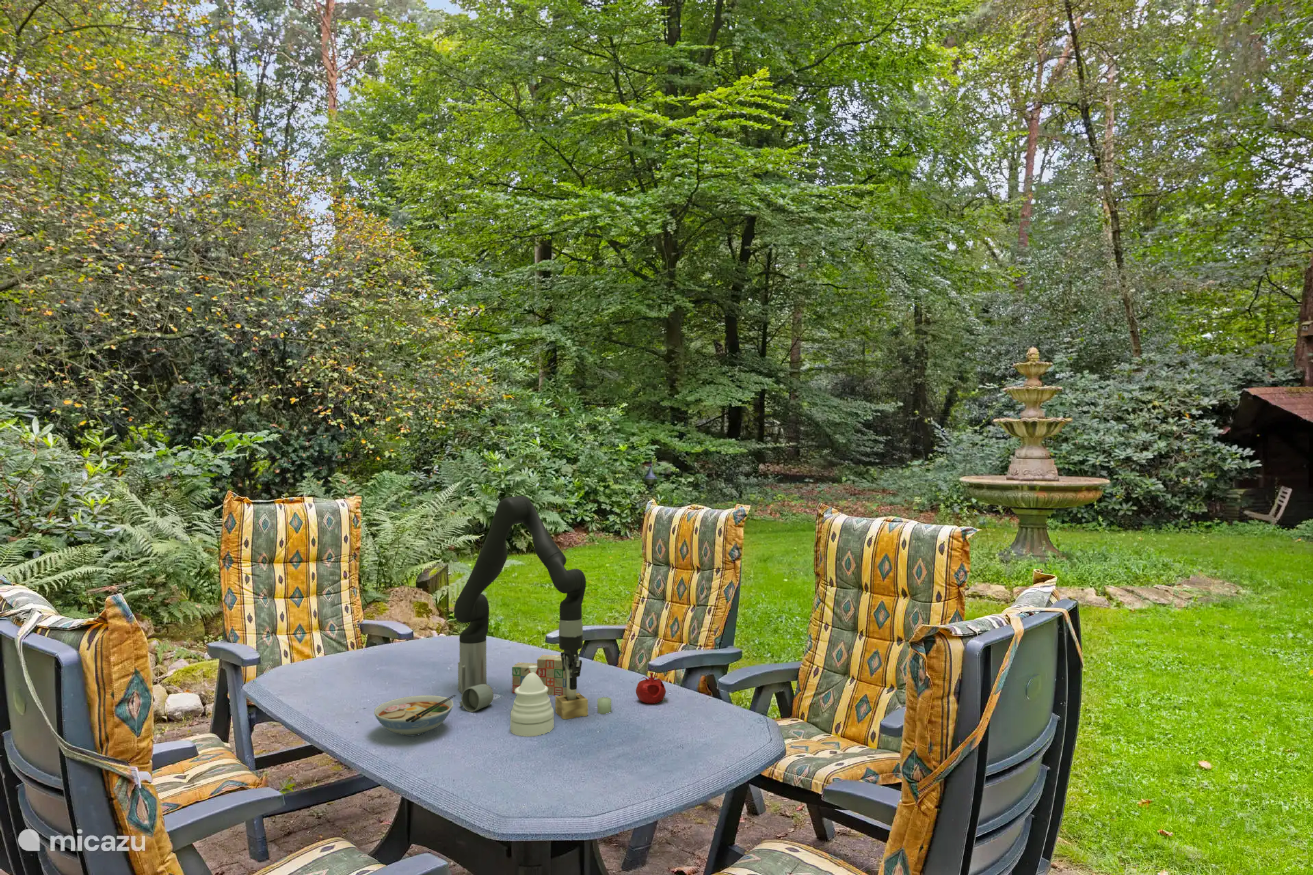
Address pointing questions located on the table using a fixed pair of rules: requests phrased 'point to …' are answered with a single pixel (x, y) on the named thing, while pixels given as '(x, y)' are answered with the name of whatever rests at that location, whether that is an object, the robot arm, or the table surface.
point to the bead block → (571, 706)
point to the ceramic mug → (476, 697)
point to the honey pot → (531, 707)
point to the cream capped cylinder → (570, 693)
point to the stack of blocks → (543, 674)
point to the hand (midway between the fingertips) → (571, 687)
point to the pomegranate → (650, 690)
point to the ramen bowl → (414, 713)
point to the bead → (604, 705)
